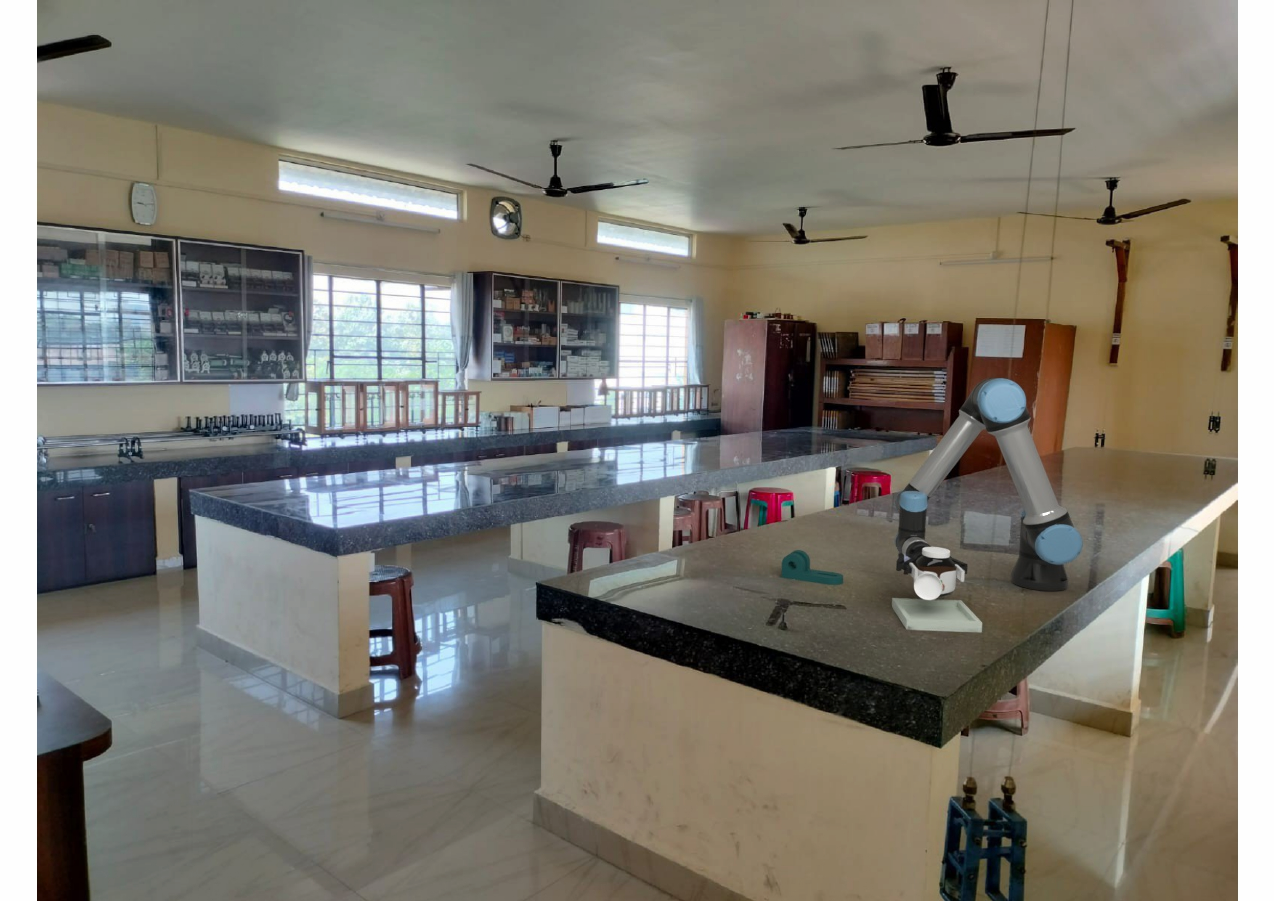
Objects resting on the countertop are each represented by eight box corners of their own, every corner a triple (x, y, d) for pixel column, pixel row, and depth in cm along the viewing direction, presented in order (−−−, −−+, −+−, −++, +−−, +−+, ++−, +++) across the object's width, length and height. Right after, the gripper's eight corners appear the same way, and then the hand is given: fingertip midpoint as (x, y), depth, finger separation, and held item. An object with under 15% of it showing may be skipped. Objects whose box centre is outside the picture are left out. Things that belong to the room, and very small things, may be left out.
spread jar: (946, 589, 211) (949, 546, 209) (964, 602, 199) (967, 557, 198) (901, 588, 210) (904, 546, 209) (917, 602, 199) (920, 557, 198)
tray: (960, 609, 213) (961, 600, 213) (981, 632, 196) (982, 622, 195) (891, 606, 216) (892, 597, 215) (906, 629, 198) (906, 619, 197)
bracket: (781, 578, 244) (781, 553, 243) (788, 573, 250) (789, 548, 249) (839, 586, 235) (840, 560, 234) (845, 581, 241) (846, 555, 240)
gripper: (960, 568, 221) (986, 591, 199) (875, 565, 224) (891, 587, 202) (962, 542, 220) (988, 562, 198) (877, 539, 223) (893, 559, 201)
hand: (939, 575), depth 200 cm, fingers closed on spread jar, 11 cm apart
